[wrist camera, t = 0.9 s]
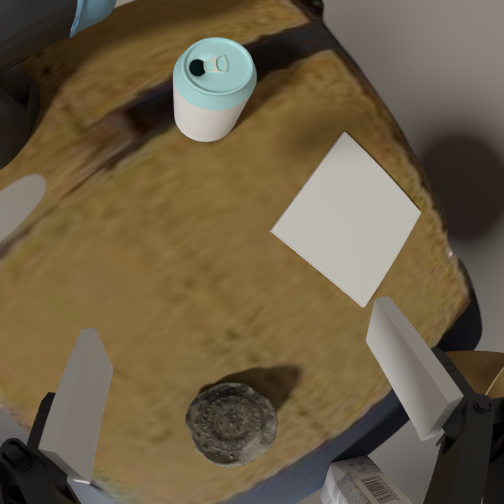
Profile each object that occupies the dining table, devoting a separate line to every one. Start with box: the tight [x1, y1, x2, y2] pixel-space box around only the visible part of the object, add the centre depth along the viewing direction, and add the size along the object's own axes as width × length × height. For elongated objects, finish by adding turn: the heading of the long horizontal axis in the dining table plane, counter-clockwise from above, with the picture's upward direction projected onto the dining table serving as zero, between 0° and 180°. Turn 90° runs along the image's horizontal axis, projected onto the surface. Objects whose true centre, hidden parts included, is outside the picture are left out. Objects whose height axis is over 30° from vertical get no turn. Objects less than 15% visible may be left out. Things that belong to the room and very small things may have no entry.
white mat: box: [270, 132, 421, 307], centre depth 37 cm, size 16×16×1 cm
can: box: [173, 37, 257, 142], centre depth 27 cm, size 7×7×12 cm
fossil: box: [186, 382, 278, 467], centre depth 33 cm, size 11×9×10 cm
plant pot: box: [445, 351, 504, 399], centre depth 35 cm, size 15×15×16 cm
